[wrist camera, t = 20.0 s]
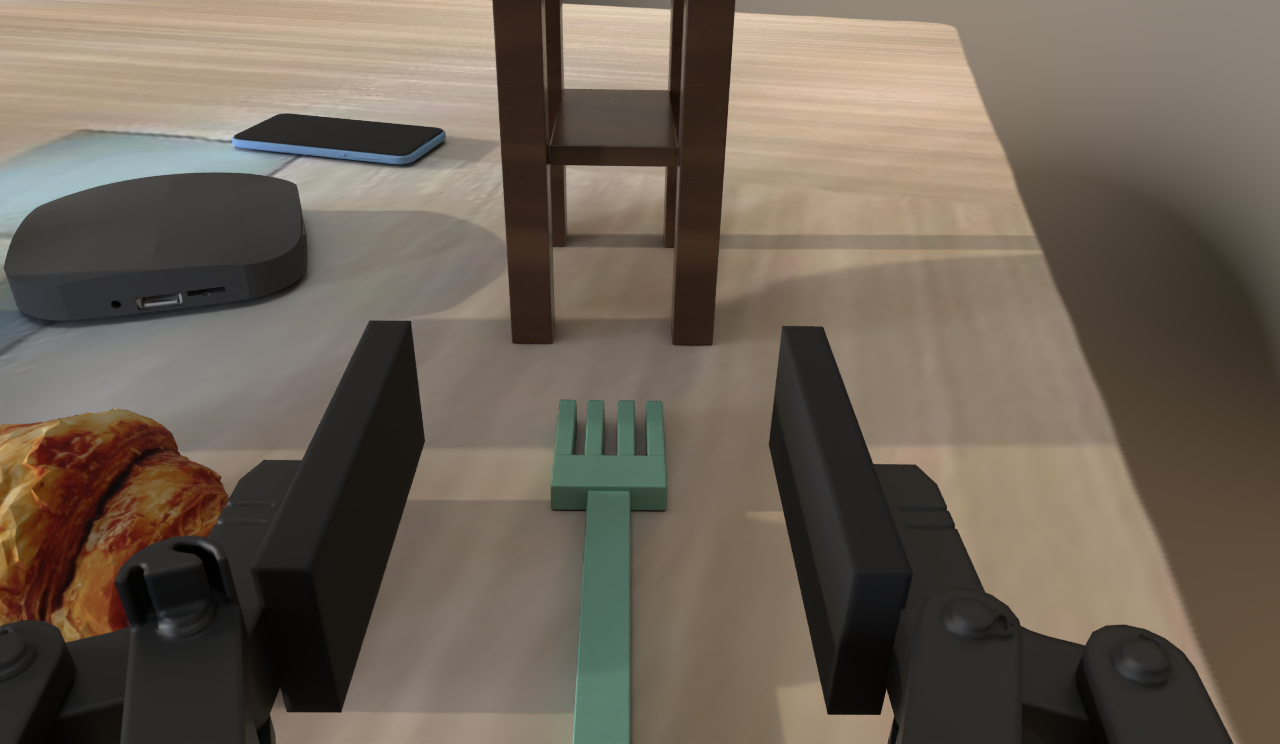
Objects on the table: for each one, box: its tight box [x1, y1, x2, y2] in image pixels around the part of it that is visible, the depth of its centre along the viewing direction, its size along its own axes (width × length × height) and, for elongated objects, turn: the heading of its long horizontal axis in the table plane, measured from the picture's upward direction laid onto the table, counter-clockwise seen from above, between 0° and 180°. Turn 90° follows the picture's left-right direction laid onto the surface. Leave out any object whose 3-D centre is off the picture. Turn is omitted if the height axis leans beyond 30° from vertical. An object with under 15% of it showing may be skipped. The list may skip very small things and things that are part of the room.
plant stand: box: [492, 0, 735, 345], centre depth 46 cm, size 14×10×30 cm
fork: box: [551, 400, 667, 744], centre depth 32 cm, size 22×4×1 cm, turn 1°
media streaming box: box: [4, 173, 307, 321], centre depth 54 cm, size 15×15×3 cm
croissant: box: [0, 408, 229, 642], centre depth 31 cm, size 21×10×8 cm, turn 71°
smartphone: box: [232, 114, 446, 164], centre depth 73 cm, size 7×1×15 cm
